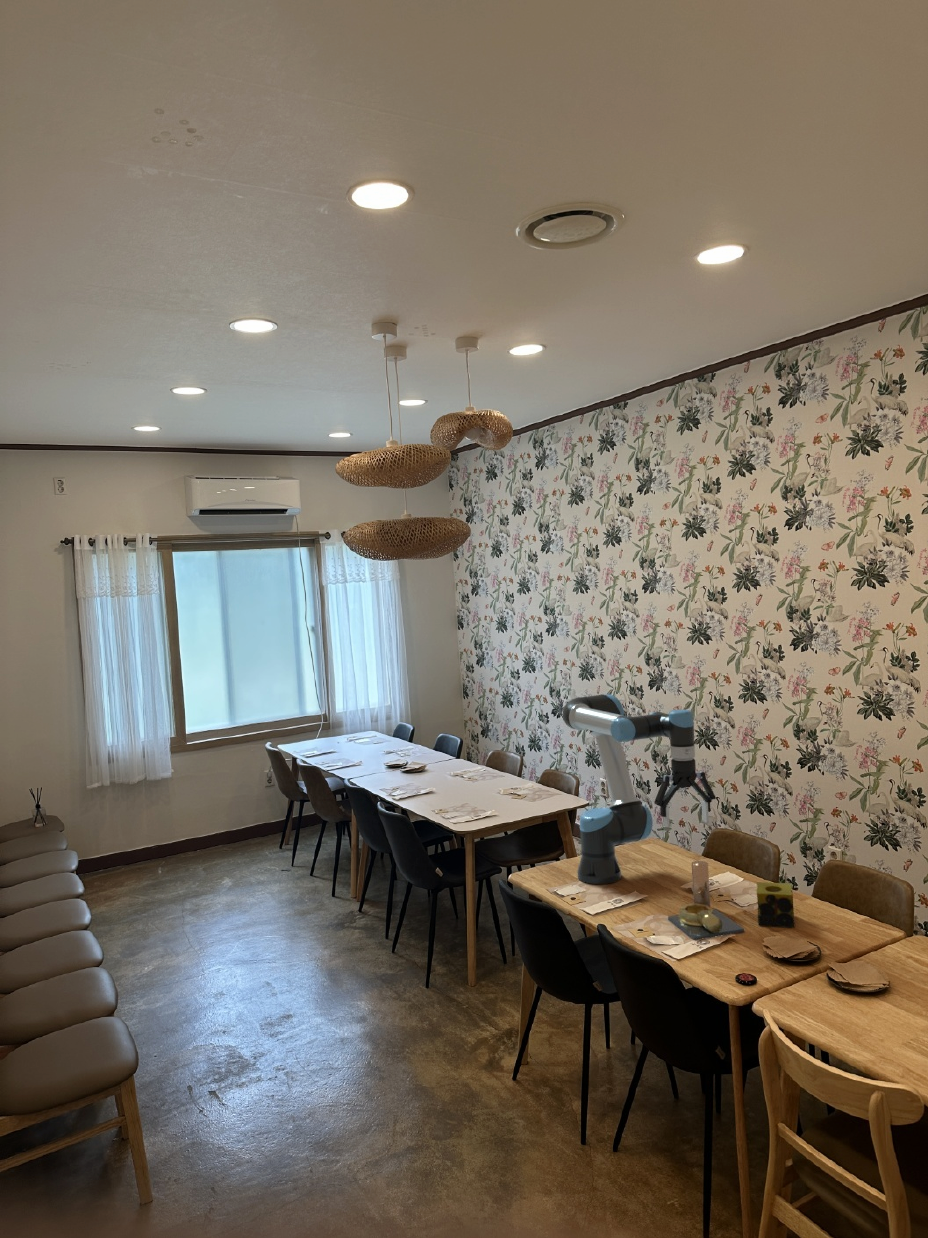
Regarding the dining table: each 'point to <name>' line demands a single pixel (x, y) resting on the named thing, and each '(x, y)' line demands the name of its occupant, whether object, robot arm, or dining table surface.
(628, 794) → the robot arm
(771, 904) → the olive cube piece
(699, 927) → the fitting base
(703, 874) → the pipe stub
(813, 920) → the dining table surface
